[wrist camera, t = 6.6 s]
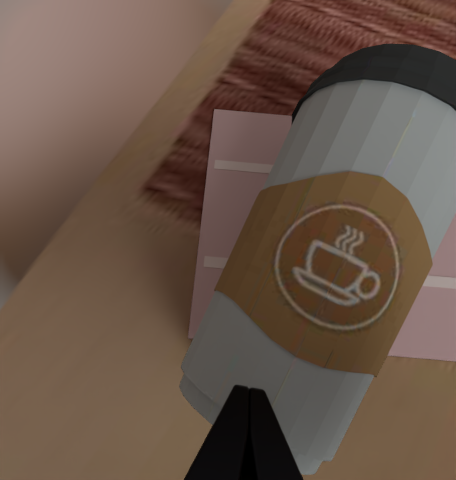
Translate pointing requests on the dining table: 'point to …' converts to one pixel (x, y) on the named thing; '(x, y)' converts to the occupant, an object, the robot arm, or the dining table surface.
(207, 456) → the robot arm
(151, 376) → the dining table surface
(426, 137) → the coffee cup
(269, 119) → the pink napkin
